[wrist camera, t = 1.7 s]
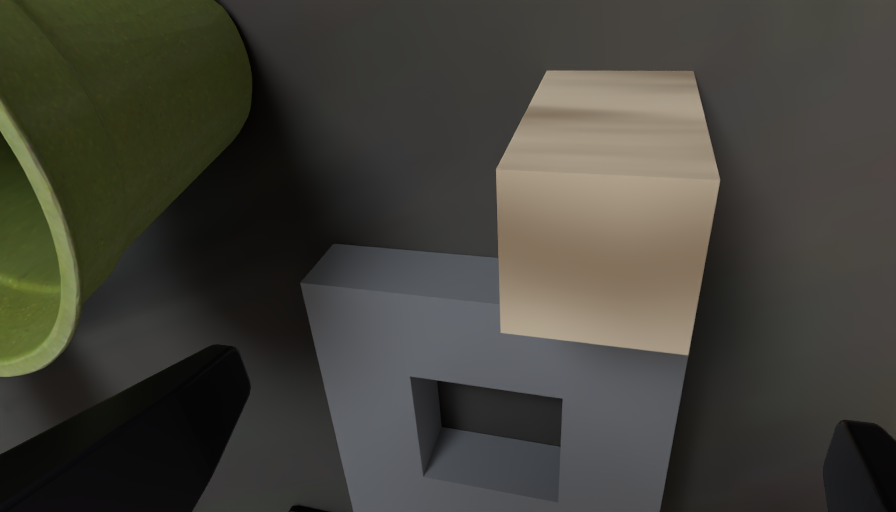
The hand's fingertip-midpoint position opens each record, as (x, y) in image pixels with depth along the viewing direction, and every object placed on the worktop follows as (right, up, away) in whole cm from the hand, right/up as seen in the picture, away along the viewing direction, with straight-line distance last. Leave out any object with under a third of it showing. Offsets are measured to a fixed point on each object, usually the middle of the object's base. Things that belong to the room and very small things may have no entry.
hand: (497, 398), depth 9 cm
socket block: (+2, -4, +18) cm, 18 cm away
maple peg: (+5, +6, +11) cm, 13 cm away
